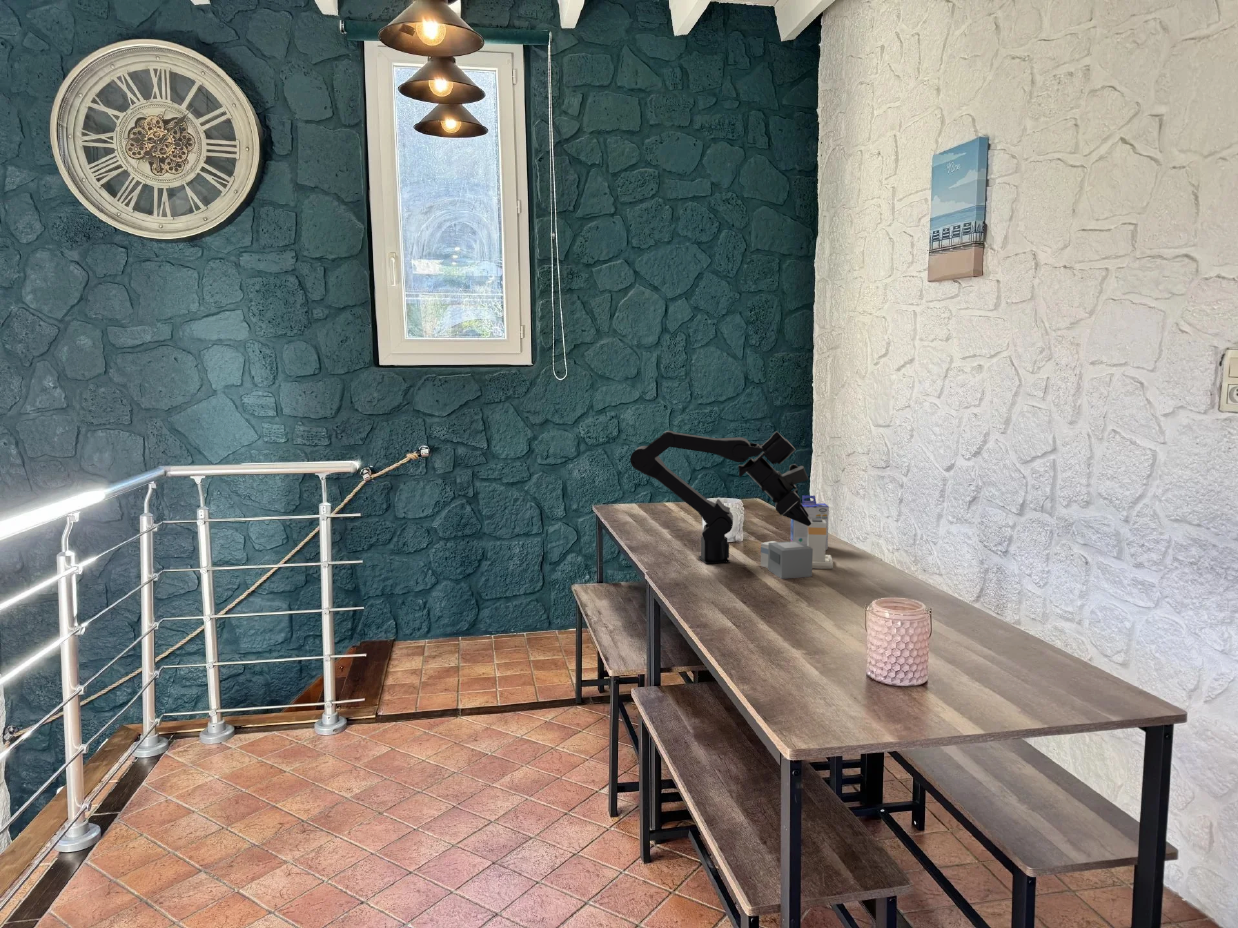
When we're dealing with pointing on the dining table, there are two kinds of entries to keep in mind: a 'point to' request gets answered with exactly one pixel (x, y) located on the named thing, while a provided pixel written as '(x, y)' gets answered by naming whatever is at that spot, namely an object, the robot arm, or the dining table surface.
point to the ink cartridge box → (813, 511)
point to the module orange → (817, 539)
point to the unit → (790, 559)
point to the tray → (824, 563)
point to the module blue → (765, 553)
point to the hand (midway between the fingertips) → (808, 520)
